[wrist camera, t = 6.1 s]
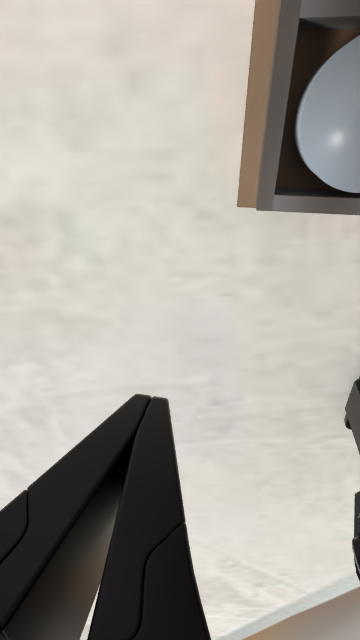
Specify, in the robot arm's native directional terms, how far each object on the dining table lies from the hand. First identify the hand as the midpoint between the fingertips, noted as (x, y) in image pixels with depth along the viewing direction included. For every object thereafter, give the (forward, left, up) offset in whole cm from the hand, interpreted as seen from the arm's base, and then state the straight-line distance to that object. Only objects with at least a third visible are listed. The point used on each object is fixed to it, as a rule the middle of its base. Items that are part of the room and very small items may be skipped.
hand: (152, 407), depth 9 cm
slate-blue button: (-6, -7, -9) cm, 12 cm away
